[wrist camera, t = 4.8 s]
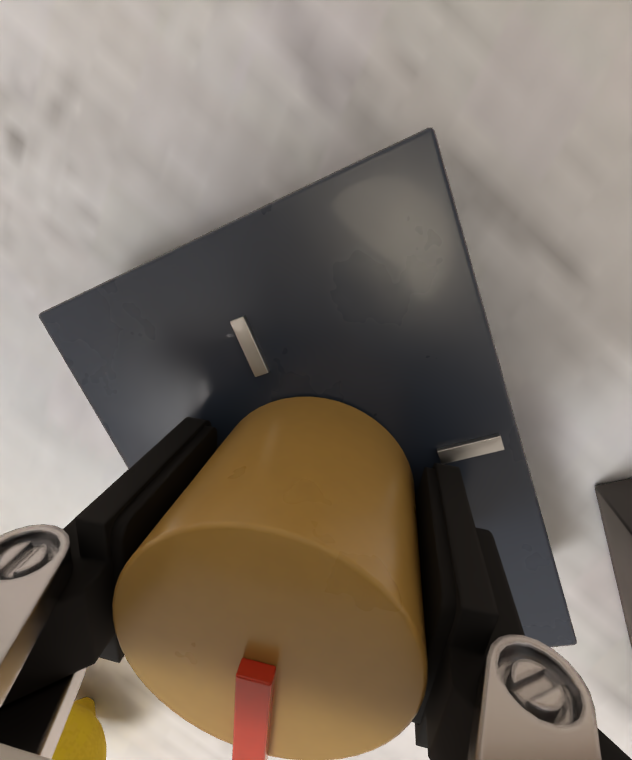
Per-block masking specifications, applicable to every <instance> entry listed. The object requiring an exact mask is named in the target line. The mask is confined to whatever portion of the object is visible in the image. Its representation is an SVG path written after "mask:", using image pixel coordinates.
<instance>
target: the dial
mask: <svg viewBox="0 0 632 760" xmlns="http://www.w3.org/2000/svg"><path fill="white" fill-rule="evenodd" d="M112 612H113V623H114V628H115V633H116V636H117V638H118V641H119V644H120V647H121V649H122V651H123V653H124V655H125V657H126V659H127V661H128V662H129V664H130V665H131V667H132V668H133V670H134V671H135V673H136V675H137V676H138V677H139V678H140V679H141V681H142V682H143V683H144V684H145V685H146V687H147V688H148V689H149V690H150V691H151V692H152V693H153V694H154V695H155V696H156V697H157V698H158V699H159V700H160V701H161V702H163V703H164V704H165V705H166V706H167V707H169V708H170V709H171V710H172V711H173V712H175V713H176V714H178V715H179V716H180V717H182V718H183V719H185V720H186V721H187V722H189V723H191V724H192V725H194V726H196V727H197V728H199V729H201V730H202V731H204V732H206V733H208V734H210V735H212V736H214V737H216V738H218V739H220V740H223V741H225V742H228V743H230V744H232V745H233V754H232V760H267V759H268V756H273V757H279V758H285V759H293V760H334V759H343V758H347V757H352V756H357V755H360V754H363V753H366V752H369V751H372V750H374V749H376V748H378V747H380V746H382V745H384V744H386V743H388V742H389V741H391V740H392V739H394V738H395V737H396V736H398V735H399V734H400V733H401V732H402V731H403V730H404V729H405V728H406V727H407V726H408V725H409V724H410V723H411V721H412V720H413V719H414V717H415V716H416V714H417V713H418V711H419V708H420V706H421V704H422V701H423V699H424V696H425V692H426V687H427V682H428V661H427V648H426V634H425V621H424V608H423V595H422V581H421V568H420V555H419V542H418V529H417V515H416V502H415V489H414V481H413V475H412V471H411V468H410V465H409V462H408V460H407V458H406V456H405V454H404V452H403V450H402V448H401V447H400V446H399V444H398V443H397V441H396V440H395V439H394V437H393V436H392V435H391V434H390V433H389V432H388V431H387V430H386V429H385V428H384V427H383V426H382V425H381V424H379V423H378V422H377V421H376V420H374V419H373V418H371V417H370V416H368V415H367V414H365V413H364V412H362V411H360V410H358V409H356V408H354V407H352V406H350V405H347V404H344V403H341V402H339V401H335V400H330V399H326V398H319V397H292V398H285V399H280V400H277V401H273V402H270V403H268V404H266V405H263V406H261V407H259V408H257V409H256V410H254V411H252V412H251V413H249V414H248V415H247V416H246V417H245V418H243V419H242V420H241V421H240V422H239V423H238V424H237V426H236V427H235V428H234V429H233V430H232V431H231V433H230V434H229V435H228V436H227V438H226V439H225V440H224V441H223V443H222V444H221V445H220V446H219V448H218V449H217V450H216V451H215V453H214V454H213V455H212V456H211V458H210V459H209V460H208V461H207V463H206V464H205V465H204V466H203V468H202V469H201V470H200V471H199V473H198V474H197V475H196V476H195V478H194V479H193V480H192V481H191V483H190V484H189V485H188V486H187V488H186V489H185V490H184V491H183V493H182V494H181V495H180V496H179V497H178V499H177V500H176V501H175V502H174V504H173V505H172V506H171V507H170V509H169V510H168V511H167V512H166V514H165V515H164V516H163V517H162V519H161V520H160V521H159V522H158V524H157V525H156V526H155V527H154V529H153V530H152V531H151V532H150V534H149V535H148V536H147V537H146V539H145V540H144V541H143V542H142V544H141V545H140V546H139V547H138V549H137V550H136V551H135V552H134V554H133V555H132V556H131V557H130V559H129V560H128V561H127V562H126V564H125V566H124V568H123V569H122V571H121V573H120V575H119V578H118V581H117V583H116V586H115V590H114V596H113V603H112Z"/></svg>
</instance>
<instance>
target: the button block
mask: <svg viewBox="0 0 632 760" xmlns="http://www.w3.org/2000/svg"><path fill="white" fill-rule="evenodd" d="M595 490H596V494H597V499H598V503H599V508H600V512H601V516H602V521H603V525H604V529H605V534H606V538H607V542H608V547H609V551H610V555H611V560H612V564H613V568H614V573H615V577H616V581H617V586H618V590H619V594H620V599H621V603H622V607H623V612H624V616H625V620H626V625H627V629H628V633H629V638H630V642H631V646H632V479H627V480H621V481H616V482H611V483H606V484H601V485H597V486H595Z"/></svg>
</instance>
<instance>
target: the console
mask: <svg viewBox="0 0 632 760" xmlns="http://www.w3.org/2000/svg"><path fill="white" fill-rule="evenodd" d="M39 318H40V319H41V321H42V323H43V325H44V326H45V328H46V330H47V331H48V333H49V335H50V336H51V338H52V340H53V342H54V343H55V345H56V347H57V348H58V350H59V352H60V353H61V355H62V357H63V358H64V360H65V362H66V364H67V365H68V367H69V369H70V370H71V372H72V374H73V375H74V377H75V379H76V380H77V382H78V384H79V386H80V387H81V389H82V391H83V392H84V394H85V396H86V397H87V399H88V401H89V403H90V404H91V406H92V408H93V409H94V411H95V413H96V414H97V416H98V418H99V419H100V421H101V423H102V425H103V426H104V428H105V430H106V431H107V433H108V435H109V436H110V438H111V440H112V441H113V443H114V445H115V447H116V448H117V450H118V452H119V453H120V455H121V457H122V458H123V460H124V462H125V464H126V465H127V467H128V469H130V468H131V467H132V466H133V465H134V464H135V463H136V462H137V461H138V460H140V459H141V458H142V457H143V456H144V455H145V454H146V453H147V452H148V451H149V450H151V449H152V448H153V447H154V446H155V445H156V444H157V443H158V442H159V441H161V440H162V439H163V438H164V437H165V436H166V435H167V434H168V433H169V432H170V431H172V430H173V429H174V428H175V427H176V426H177V425H178V424H179V423H180V422H181V421H183V420H184V419H185V418H186V417H192V418H198V419H203V420H209V421H210V422H211V427H215V428H216V429H217V449H218V448H219V446H220V445H221V444H222V443H223V441H224V440H225V439H226V438H227V436H228V435H229V434H230V433H231V431H232V430H233V429H234V428H235V427H236V426H237V424H238V423H239V422H240V421H241V420H242V419H243V418H245V417H246V416H247V415H248V414H249V413H251V412H252V411H254V410H256V409H257V408H259V407H261V406H263V405H266V404H268V403H270V402H273V401H277V400H280V399H285V398H292V397H319V398H326V399H330V400H335V401H339V402H341V403H344V404H347V405H350V406H352V407H354V408H356V409H358V410H360V411H362V412H364V413H365V414H367V415H368V416H370V417H371V418H373V419H374V420H376V421H377V422H378V423H379V424H381V425H382V426H383V427H384V428H385V429H386V430H387V431H388V432H389V433H390V434H391V435H392V436H393V437H394V439H395V440H396V441H397V443H398V444H399V446H400V447H401V448H402V450H403V452H404V454H405V456H406V458H407V460H408V462H409V465H410V468H411V471H412V475H413V481H414V489H415V502H416V499H417V495H418V491H419V486H420V482H421V478H422V474H423V470H424V468H425V467H428V468H432V467H433V465H434V463H440V464H445V465H451V466H456V467H459V468H460V471H461V475H462V479H463V483H464V486H465V490H466V494H467V497H468V501H469V505H470V509H471V512H472V516H473V520H474V524H475V527H476V528H481V529H486V530H489V531H490V532H491V533H492V535H493V537H494V540H495V543H496V546H497V549H498V552H499V555H500V558H501V562H502V565H503V568H504V571H505V574H506V577H507V580H508V584H509V587H510V590H511V593H512V596H513V599H514V602H515V606H516V609H517V612H518V615H519V618H520V621H521V624H522V628H523V631H524V634H525V636H527V637H530V638H532V639H535V640H538V641H540V642H542V643H543V644H545V645H547V646H549V647H558V646H568V645H575V644H576V643H577V640H576V637H575V633H574V629H573V626H572V622H571V619H570V615H569V611H568V608H567V604H566V601H565V597H564V593H563V590H562V586H561V583H560V579H559V576H558V572H557V568H556V565H555V561H554V558H553V554H552V550H551V547H550V543H549V540H548V536H547V532H546V529H545V525H544V522H543V518H542V515H541V511H540V507H539V504H538V500H537V497H536V493H535V489H534V486H533V482H532V479H531V475H530V471H529V468H528V464H527V461H526V457H525V453H524V450H523V446H522V443H521V439H520V436H519V432H518V428H517V425H516V421H515V418H514V414H513V410H512V407H511V403H510V400H509V396H508V392H507V389H506V385H505V382H504V378H503V375H502V371H501V367H500V364H499V360H498V357H497V353H496V349H495V346H494V342H493V339H492V335H491V331H490V328H489V324H488V321H487V317H486V314H485V310H484V306H483V303H482V299H481V296H480V292H479V288H478V285H477V281H476V278H475V274H474V270H473V267H472V263H471V260H470V256H469V252H468V249H467V245H466V242H465V238H464V235H463V231H462V227H461V224H460V220H459V217H458V213H457V209H456V206H455V202H454V199H453V195H452V191H451V188H450V184H449V181H448V177H447V174H446V170H445V166H444V163H443V159H442V156H441V152H440V148H439V145H438V141H437V138H436V134H435V131H434V129H433V128H426V129H424V130H422V131H420V132H418V133H416V134H414V135H412V136H410V137H408V138H406V139H403V140H401V141H399V142H397V143H395V144H393V145H391V146H389V147H387V148H385V149H383V150H380V151H378V152H376V153H374V154H372V155H370V156H368V157H366V158H364V159H362V160H359V161H357V162H355V163H353V164H351V165H349V166H347V167H345V168H343V169H341V170H339V171H336V172H334V173H332V174H330V175H328V176H326V177H324V178H322V179H320V180H318V181H316V182H313V183H311V184H309V185H307V186H305V187H303V188H301V189H299V190H297V191H295V192H292V193H290V194H288V195H286V196H284V197H282V198H280V199H278V200H276V201H274V202H272V203H269V204H267V205H265V206H263V207H261V208H259V209H257V210H255V211H253V212H251V213H249V214H246V215H244V216H242V217H240V218H238V219H236V220H234V221H232V222H230V223H228V224H226V225H223V226H221V227H219V228H217V229H215V230H213V231H211V232H209V233H207V234H205V235H202V236H200V237H198V238H196V239H194V240H192V241H190V242H188V243H186V244H184V245H182V246H179V247H177V248H175V249H173V250H171V251H169V252H167V253H165V254H163V255H161V256H159V257H156V258H154V259H152V260H150V261H148V262H146V263H144V264H142V265H140V266H138V267H136V268H133V269H131V270H129V271H127V272H125V273H123V274H121V275H119V276H117V277H115V278H112V279H110V280H108V281H106V282H104V283H102V284H100V285H98V286H96V287H94V288H92V289H89V290H87V291H85V292H83V293H81V294H79V295H77V296H75V297H73V298H71V299H69V300H66V301H64V302H62V303H60V304H58V305H56V306H54V307H52V308H50V309H48V310H46V311H43V312H41V313H40V314H39Z"/></svg>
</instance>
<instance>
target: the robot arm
mask: <svg viewBox="0 0 632 760" xmlns="http://www.w3.org/2000/svg"><path fill="white" fill-rule="evenodd" d="M216 450H217V429H216V428H215V427H211V422H210V421H209V420H203V419H198V418H192V417H186V418H185V419H184V420H183V421H181V422H180V423H179V424H178V425H177V426H176V427H175V428H174V429H173V430H172V431H170V432H169V433H168V434H167V435H166V436H165V437H164V438H163V439H162V440H161V441H159V442H158V443H157V444H156V445H155V446H154V447H153V448H152V449H151V450H149V451H148V452H147V453H146V454H145V455H144V456H143V457H142V458H141V459H140V460H138V461H137V462H136V463H135V464H134V465H133V466H132V467H131V468H130V469H129V470H127V471H126V472H125V473H124V474H123V475H122V476H121V477H120V478H119V479H117V480H116V481H115V482H114V483H113V484H112V485H111V486H110V487H109V488H108V489H106V490H105V491H104V492H103V493H102V494H101V495H100V496H99V497H98V498H97V499H95V500H94V501H93V502H92V503H91V504H90V505H89V506H88V507H87V508H85V509H84V510H83V511H82V512H81V513H80V514H79V515H78V516H77V517H76V518H75V519H74V520H73V521H71V522H70V523H69V524H68V525H67V526H66V527H65V528H64V529H61V528H59V527H57V526H53V525H44V524H41V525H31V526H26V527H22V528H18V529H15V530H12V531H10V532H8V533H5V534H3V535H1V536H0V760H53V759H52V756H53V754H54V751H55V749H56V746H57V744H58V741H59V739H60V736H61V734H62V731H63V729H64V726H65V723H66V721H67V718H68V716H69V713H70V711H71V708H72V706H73V703H74V701H75V698H76V696H77V693H78V691H79V688H80V685H81V683H82V680H83V678H84V675H85V673H86V668H87V667H88V666H90V665H92V664H95V662H96V661H97V659H98V658H99V657H100V658H103V659H107V660H111V661H114V662H118V663H120V661H121V659H122V658H123V656H124V653H123V651H122V649H121V647H120V644H119V641H118V638H117V636H116V633H115V628H114V623H113V612H112V603H113V596H114V590H115V586H116V583H117V581H118V578H119V575H120V573H121V571H122V569H123V568H124V566H125V564H126V562H127V561H128V560H129V559H130V557H131V556H132V555H133V554H134V552H135V551H136V550H137V549H138V547H139V546H140V545H141V544H142V542H143V541H144V540H145V539H146V537H147V536H148V535H149V534H150V532H151V531H152V530H153V529H154V527H155V526H156V525H157V524H158V522H159V521H160V520H161V519H162V517H163V516H164V515H165V514H166V512H167V511H168V510H169V509H170V507H171V506H172V505H173V504H174V502H175V501H176V500H177V499H178V497H179V496H180V495H181V494H182V493H183V491H184V490H185V489H186V488H187V486H188V485H189V484H190V483H191V481H192V480H193V479H194V478H195V476H196V475H197V474H198V473H199V471H200V470H201V469H202V468H203V466H204V465H205V464H206V463H207V461H208V460H209V459H210V458H211V456H212V455H213V454H214V453H215V451H216ZM416 515H417V529H418V542H419V555H420V568H421V581H422V595H423V608H424V621H425V634H426V648H427V661H428V682H427V687H426V692H425V696H424V699H423V701H422V704H421V706H420V708H419V711H418V713H417V714H416V716H415V717H414V719H413V720H412V721H411V722H414V723H415V736H416V745H418V746H421V747H425V748H428V757H429V758H430V760H632V759H631V758H630V757H628V756H627V755H626V754H625V753H624V752H623V751H622V750H621V749H620V748H619V747H618V746H617V745H615V744H614V743H613V742H612V741H611V740H610V739H609V738H608V737H607V736H606V735H605V734H604V733H602V732H601V731H600V730H599V729H598V728H597V721H596V714H595V708H594V704H593V701H592V697H591V694H590V691H589V690H588V688H587V686H586V685H585V683H584V681H583V679H582V678H581V676H580V675H579V674H578V673H577V671H576V670H575V669H574V668H573V667H572V666H571V664H570V663H569V662H568V661H567V660H566V659H564V658H563V657H562V656H561V655H560V654H558V653H557V652H556V651H555V650H554V649H552V648H550V647H549V646H547V645H545V644H543V643H542V642H540V641H538V640H535V639H532V638H530V637H527V636H525V634H524V631H523V628H522V624H521V621H520V618H519V615H518V612H517V609H516V606H515V602H514V599H513V596H512V593H511V590H510V587H509V584H508V580H507V577H506V574H505V571H504V568H503V565H502V562H501V558H500V555H499V552H498V549H497V546H496V543H495V540H494V537H493V535H492V533H491V532H490V531H489V530H486V529H481V528H476V527H475V524H474V520H473V516H472V512H471V509H470V505H469V501H468V497H467V494H466V490H465V486H464V483H463V479H462V475H461V471H460V468H459V467H456V466H451V465H445V464H440V463H434V465H433V467H432V468H428V467H425V468H424V470H423V474H422V478H421V482H420V486H419V491H418V495H417V499H416Z"/></svg>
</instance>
